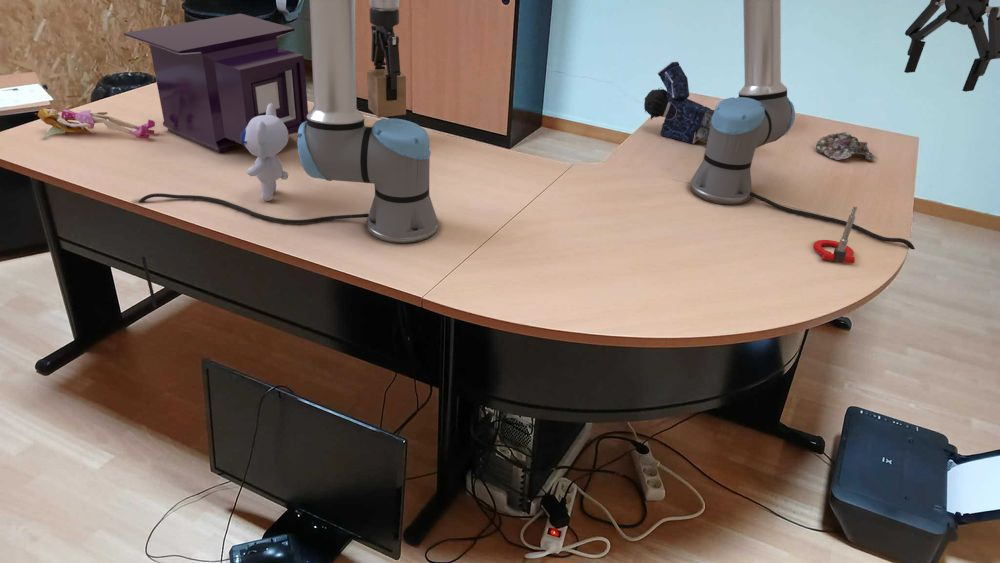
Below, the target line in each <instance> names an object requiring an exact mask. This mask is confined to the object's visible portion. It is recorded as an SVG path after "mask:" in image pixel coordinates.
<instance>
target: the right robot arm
mask: <svg viewBox="0 0 1000 563" xmlns="http://www.w3.org/2000/svg"><path fill="white" fill-rule="evenodd" d="M742 1H743V2H742V4H743V7H742V8H743V61H744V62H743V63H744V85H743V87H742V88H741V89H740V90H739V91H738V96H737V97H728V98H725V99H722V100H721V101H719V102H718V103H717V104H716V106H714V114H713V115H712V119H711V126H710V131H709V136H708V140H707V142H706V145H705V150H704V154H703V159H702V161H701V163H700V165H699V166H698V168H697V169H696V171H695V173H694V174H693V176H692V178H691V180H690V184H689V189H690V191H691V193H693V194H694V196H696V197H698V198H700V199H702V200H704V201H707V202H710V203H713V204H717V205H726V206H727V205H729V206H734V205H742V204H745V203H747V202H749V201H750V199H751V197H752V198H754V199H756V200H759V201H761V202H763V203H765V204H767V205H769V206H772V207H773V208H776V209H778V210H781V211H785V212H787V213H791V214H795V215H800V216H804V217H809V218H812V219H813V218H814V219H818V220H822V221H826V222H831V223H835V224H839V225H842V226H845V227H846V224H847V221H846V220H843V219H839V218H835V217H832V216H831V217H830V216H826V215H822V214H817V213H814V212H813V213H812V212H809V211H806V210H805V211H804V210H799V209H796V208H791V207H788V206H785V205H781V204H779V203H776V202H775V201H772V200H771V199H768V198H766V197H765V196H764V197H763V196H762V195H759V194H757V193H755V192H753V186H752V174H751V167H752V163H753V159H754V157H755V156H754V155H755V152H756V149H758V148H759V147H762V146H764V145H768V144H770V143H773V142H776V141H778V140H779V139H781V138H782V137H783V136H785V135H786V134H788V132H789V131H790V130H791V129H792V127H793V125H794V123H795V119H796V118H795V117H796V109H795V106H794V104H793V102H792V101H791V100H790V98H789V97H788V87H787V86H786V85H784V83H783V82H782V70H781V69H782V65H781V64H782V60H781V58H782V52H781V50H782V49H781V48H782V44H781V42H782V37H781V34H782V33H781V32H782V30H781V29H782V25H781V24H782V23H781V21H782V20H781V19H782V18H781V17H782V16H781V13H782V12H781V11H782V10H781V9H782V6H781V5H782V4H781V2H782V0H742ZM989 3H990V0H930V2H929V3H928V5H927V6H926V7H925V8H924V10H922V11H921V13H920V14H919V15H918V16H917V18H916V19H915V20H913V22H912V23H911V24H910V25H909V26H908V27H907V29H906V30H905V32H904V35H905V36H906V37H908V38H910V40H911V41H910V44H909V47H908V50H907V52H906V53H907V55H906V56H909V57H908V60H907V63H906V65H905V68H904V71H903V72H904V73H905V74H909V73H916V70H917V67H918V65H919V61H920V59H921V56H922V53H923V51H924V48H925V45H926V41H924V40H925V38H927V37H928V36H930V35H931V34H933V32H935V31H937V30H938V29H940V28H941V27H942V26H943V25H944V24H946V23H948V22H949V23H958V24H959V25H962V26H967V28H968V29H969V30H970V32H971V36H972V38H973V41H974V42H973V43H974V45H975V48H976V51H977V54H978V58H974V59H973V62H972V64H971V68H970V69H969V72H968V75H967V78H966V80H965V82H964V85H963V87H962V89H961V91H962V92H966V93H967V92H972V91H974V90H975V88H976V85H977V83H978V81H979V79H980V77H983V76H984V75H985V74H986V71H987V69H988V67H989V64H990V62H991V61H992V60H998V59H999V60H1000V6H990V4H989ZM943 6H944V7H945V10H944V11H942V12H941V13H940V14H938V15H937V17H936V18H934V19H933V20H932V21H930V20H931V18H932V17H933V16H935V14H936V13H937V12H938V11H939V9H940V8H941V7H943ZM985 14H986V17H987V32H988V35H987V32H986V28H985V21H984V18H983V16H984V15H985ZM929 21H930V22H929ZM928 22H929V23H928ZM926 23H928V24H926ZM851 229H853V230H856V231H858V232H860V233H862V234H864V235H866V236H868V237H871V238H873V239H876V240H879V241H881V242H886V243H901V244H904V245H906V246H907V247H908V248H909V249H910V250H915V249H916V248H915V246H914V244H913V243H912V242H911V241H909V240H908V239H905V238H901V237H887V236H882V235H879V234H877V233H875V232H872V231H871V230H868V229H866V228H863V227H861V226H860V225H857V224H855V223H853V225H852V228H851Z"/></svg>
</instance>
